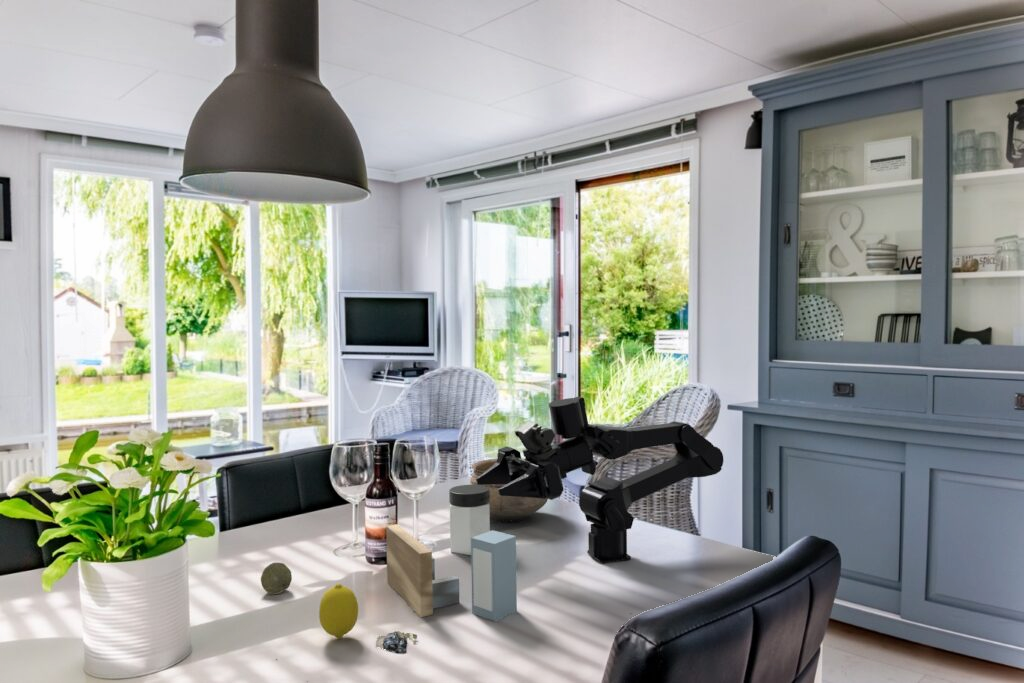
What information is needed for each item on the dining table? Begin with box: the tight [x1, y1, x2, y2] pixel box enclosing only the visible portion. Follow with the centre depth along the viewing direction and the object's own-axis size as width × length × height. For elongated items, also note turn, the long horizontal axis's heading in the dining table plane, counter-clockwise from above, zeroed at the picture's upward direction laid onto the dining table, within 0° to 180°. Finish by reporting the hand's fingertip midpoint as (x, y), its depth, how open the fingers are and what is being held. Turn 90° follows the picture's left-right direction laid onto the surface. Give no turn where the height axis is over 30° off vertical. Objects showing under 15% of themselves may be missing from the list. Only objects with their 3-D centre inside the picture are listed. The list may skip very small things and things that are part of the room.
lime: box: [260, 561, 293, 595], centre depth 123 cm, size 4×5×5 cm
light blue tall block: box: [470, 529, 518, 622], centre depth 113 cm, size 5×5×12 cm
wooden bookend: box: [385, 523, 460, 618], centre depth 120 cm, size 8×17×10 cm, turn 27°
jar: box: [448, 484, 491, 556], centre depth 144 cm, size 9×8×12 cm
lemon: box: [318, 583, 359, 639], centre depth 104 cm, size 6×6×8 cm
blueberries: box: [375, 631, 419, 654], centre depth 102 cm, size 7×8×2 cm
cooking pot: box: [468, 457, 549, 523], centre depth 165 cm, size 25×19×12 cm
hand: (487, 486), depth 126 cm, fingers open, 9 cm apart
